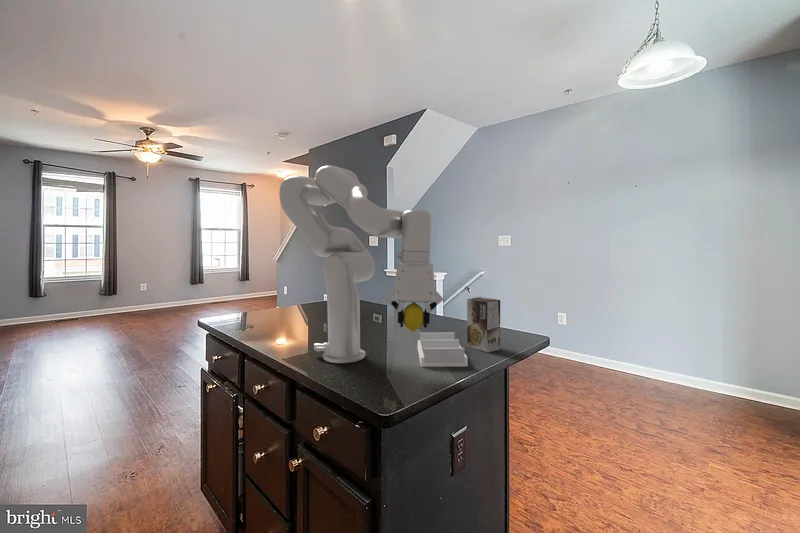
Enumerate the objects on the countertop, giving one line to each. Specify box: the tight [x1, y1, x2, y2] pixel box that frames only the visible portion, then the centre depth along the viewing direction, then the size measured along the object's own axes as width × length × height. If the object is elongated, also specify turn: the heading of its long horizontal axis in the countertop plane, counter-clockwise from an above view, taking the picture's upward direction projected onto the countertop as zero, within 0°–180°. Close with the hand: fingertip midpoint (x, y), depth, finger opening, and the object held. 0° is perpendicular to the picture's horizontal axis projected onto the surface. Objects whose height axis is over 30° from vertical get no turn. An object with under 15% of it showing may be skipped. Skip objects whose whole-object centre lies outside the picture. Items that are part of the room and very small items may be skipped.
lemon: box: [403, 302, 424, 333], centre depth 95 cm, size 6×6×8 cm
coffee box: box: [466, 296, 501, 353], centre depth 117 cm, size 9×6×16 cm
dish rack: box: [416, 331, 469, 368], centre depth 109 cm, size 13×19×5 cm
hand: (413, 325), depth 95 cm, fingers closed on lemon, 5 cm apart
